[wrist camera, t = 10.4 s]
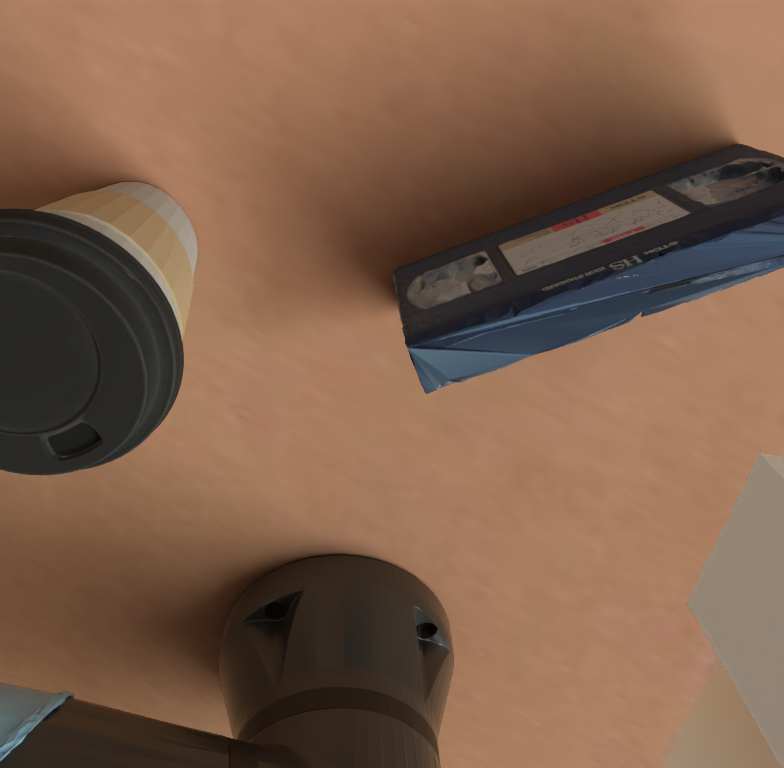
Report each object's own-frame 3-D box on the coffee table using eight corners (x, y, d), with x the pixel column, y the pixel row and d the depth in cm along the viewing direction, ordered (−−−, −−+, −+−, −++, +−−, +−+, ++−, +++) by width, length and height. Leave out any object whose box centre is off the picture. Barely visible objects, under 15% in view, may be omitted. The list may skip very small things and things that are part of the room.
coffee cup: (168, 360, 40) (80, 538, 27) (2, 254, 37) (-191, 396, 24) (270, 223, 37) (229, 348, 24) (99, 95, 34) (-60, 156, 21)
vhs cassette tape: (742, 138, 37) (869, 181, 28) (748, 196, 38) (872, 254, 29) (386, 259, 38) (399, 337, 30) (405, 311, 40) (422, 399, 31)
